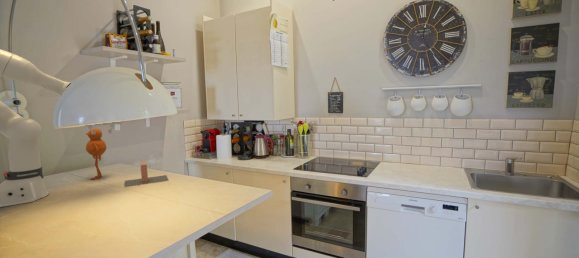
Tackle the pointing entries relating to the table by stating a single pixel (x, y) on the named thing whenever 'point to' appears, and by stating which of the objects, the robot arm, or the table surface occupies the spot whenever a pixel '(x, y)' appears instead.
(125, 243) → the table surface
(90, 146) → the toy
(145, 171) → the box
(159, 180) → the mat
